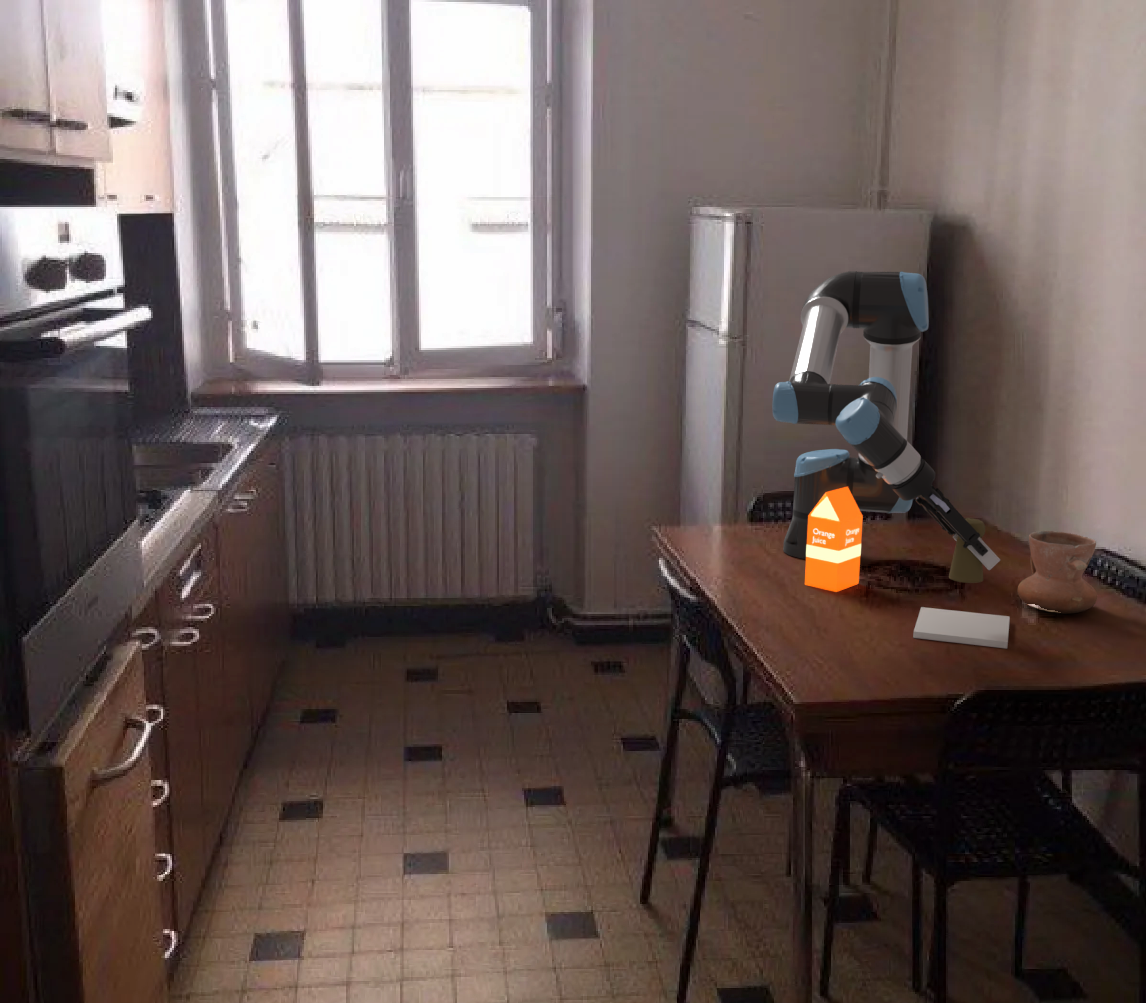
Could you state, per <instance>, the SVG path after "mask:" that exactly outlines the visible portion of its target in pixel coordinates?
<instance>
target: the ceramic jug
mask: <svg viewBox="0 0 1146 1003" xmlns="http://www.w3.org/2000/svg"><path fill="white" fill-rule="evenodd" d="M1028 543H1029V544H1028V545H1029V549H1030V550H1029V552H1030V569H1031V575H1029V576H1028V577H1026V578H1024V579H1023V580H1021V581H1020V582H1019V584H1018V585H1017V595H1018V597H1019V599H1020V600H1021V601H1022V602H1023V603H1024V604H1026V605H1027V604H1035V605H1039V606H1040V607H1041V608H1044V609H1047V610H1055V611H1058V612H1061V613H1064V614H1066V615H1067V614H1069V615H1070V614H1077V613H1081V612H1085V611H1087V610H1089V609H1092V607H1094V605H1095V604H1096V603H1097V600H1098V593H1097V591H1096V589H1095V588H1094V587H1093V586H1092V585H1091V584H1090V583H1088V582H1087V581H1086V580H1085V579H1084V578H1083V577H1082V576H1083V574H1084V572H1085V571H1086V569H1087V568H1088V565H1089V564H1090V561H1091V559H1092V557H1093V555H1094V552H1095V550H1096V546H1097V540H1095V539H1094V538H1090V537H1087V536H1084V535H1080V534H1075V533H1070V532H1065V531H1054V530H1041V531H1032V532H1031V533H1030V534H1029V535H1028Z"/></svg>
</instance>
